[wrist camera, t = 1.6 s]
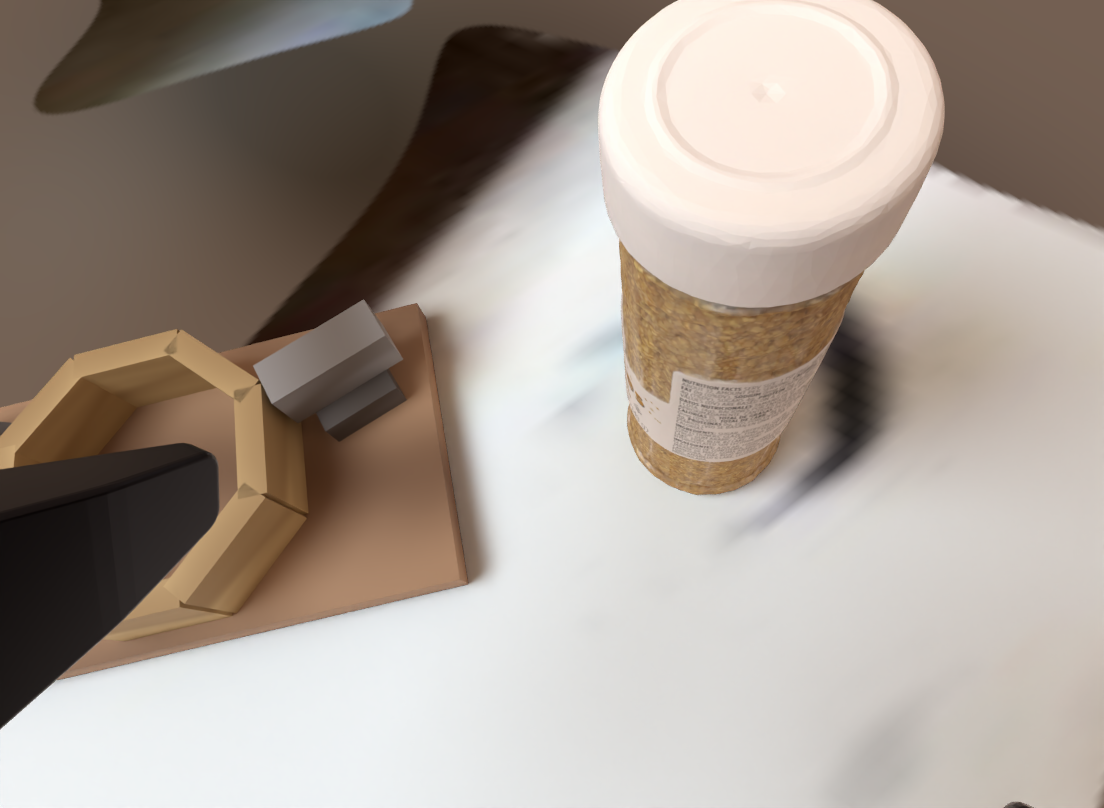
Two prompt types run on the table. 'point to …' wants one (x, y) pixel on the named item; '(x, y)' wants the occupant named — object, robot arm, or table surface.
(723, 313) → the sprinkles bottle
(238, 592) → the stand
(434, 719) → the table surface
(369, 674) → the table surface
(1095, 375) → the table surface
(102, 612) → the robot arm
